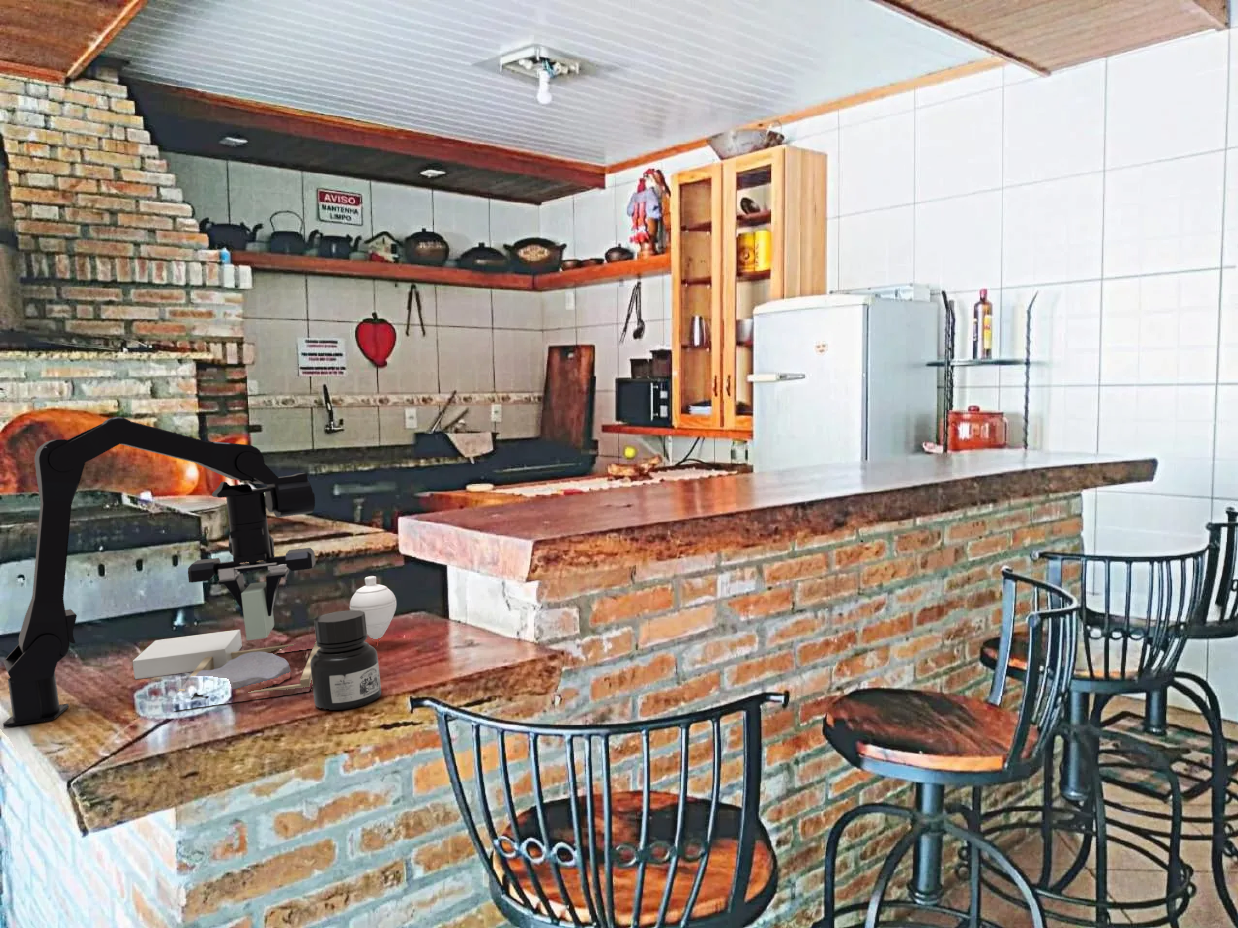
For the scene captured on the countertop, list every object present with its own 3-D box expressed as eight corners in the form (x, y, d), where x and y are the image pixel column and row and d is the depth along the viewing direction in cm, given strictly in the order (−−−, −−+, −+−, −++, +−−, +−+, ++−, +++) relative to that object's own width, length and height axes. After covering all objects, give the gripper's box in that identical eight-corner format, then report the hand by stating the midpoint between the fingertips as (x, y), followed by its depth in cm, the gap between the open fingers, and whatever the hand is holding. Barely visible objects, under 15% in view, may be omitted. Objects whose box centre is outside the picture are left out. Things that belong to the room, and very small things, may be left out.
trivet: (227, 666, 154) (225, 648, 154) (134, 679, 151) (132, 661, 151) (242, 645, 168) (240, 629, 168) (157, 657, 165) (155, 640, 165)
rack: (310, 692, 136) (308, 678, 136) (173, 711, 132) (171, 697, 132) (326, 646, 162) (324, 635, 162) (212, 661, 158) (211, 649, 158)
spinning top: (402, 648, 157) (395, 577, 156) (355, 655, 155) (347, 583, 154) (398, 637, 164) (391, 570, 163) (353, 644, 162) (346, 576, 161)
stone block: (299, 689, 145) (255, 671, 150) (299, 660, 144) (255, 643, 149) (233, 718, 135) (189, 698, 140) (233, 687, 134) (188, 668, 139)
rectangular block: (266, 637, 149) (261, 591, 149) (246, 640, 149) (241, 593, 148) (274, 625, 158) (269, 581, 157) (255, 627, 157) (250, 583, 157)
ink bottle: (343, 716, 124) (333, 626, 123) (298, 709, 129) (289, 622, 128) (397, 693, 132) (388, 609, 131) (353, 687, 137) (344, 606, 136)
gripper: (313, 510, 162) (323, 599, 163) (197, 522, 158) (208, 614, 159) (306, 517, 151) (317, 613, 152) (181, 530, 147) (193, 628, 148)
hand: (259, 616), depth 153 cm, fingers closed on rectangular block, 3 cm apart
